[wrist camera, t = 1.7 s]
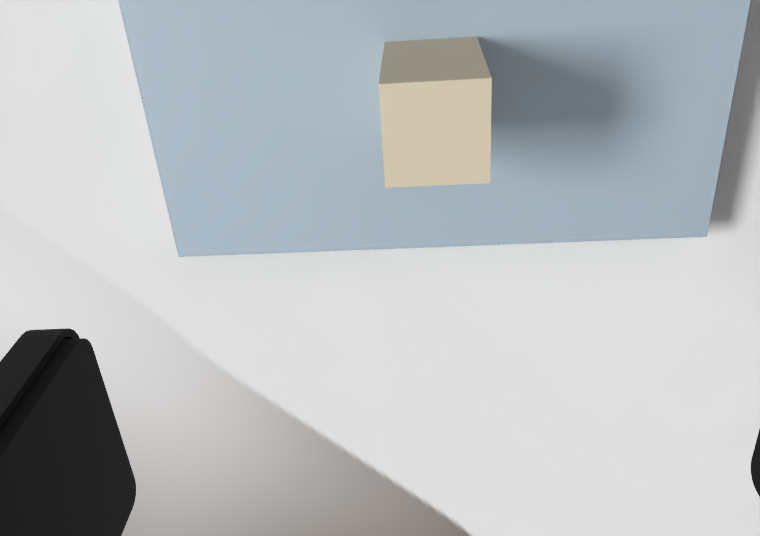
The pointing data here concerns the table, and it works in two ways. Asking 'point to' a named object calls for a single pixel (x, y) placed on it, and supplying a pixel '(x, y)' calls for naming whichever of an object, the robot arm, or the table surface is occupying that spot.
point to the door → (434, 119)
